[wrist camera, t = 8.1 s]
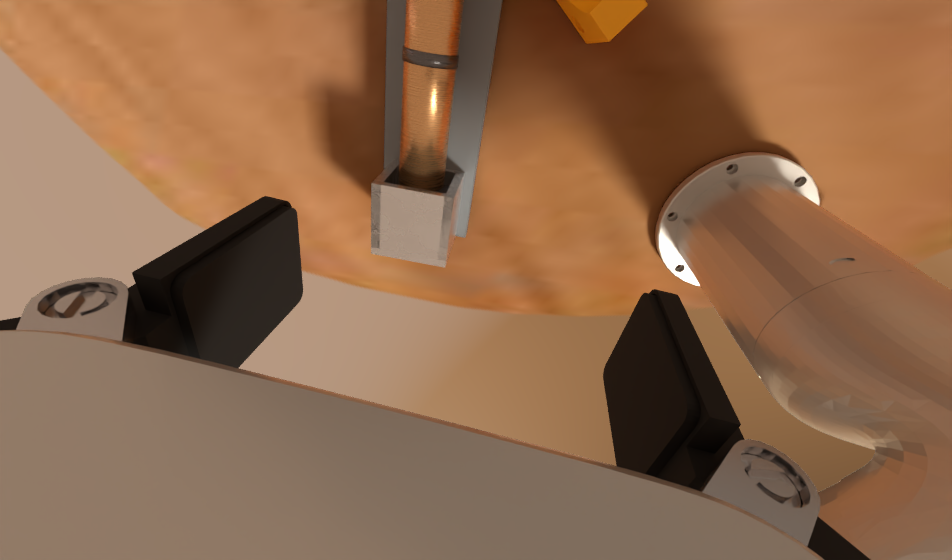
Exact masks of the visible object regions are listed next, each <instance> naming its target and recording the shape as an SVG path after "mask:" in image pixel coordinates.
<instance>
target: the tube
mask: <svg viewBox="0 0 952 560" xmlns="http://www.w3.org/2000/svg"><path fill="white" fill-rule="evenodd" d="M463 4H464V0H406V17H405V41H404V45H403V52H402V60H403V61H404V65H403V88H402V112H401V136H400V160H399V184H400V185H402V186H407V187H412V188H418V189H423V190H429V191H434V192H436V191H439V190H441V189H442V188H443V186H444V178H445V168H446V159H447V150H448V141H449V132H450V123H451V114H452V104H453V95H454V86H455V77H456V69H458V63H459V54H458V50H459V41H460V31H461V22H462V13H463Z"/></svg>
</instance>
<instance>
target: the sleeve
mask: <svg viewBox="0 0 952 560" xmlns="http://www.w3.org/2000/svg"><path fill="white" fill-rule="evenodd" d="M464 175H465V172H461V171H455V170H450V169H445V178H444V186H443V188H442V189H441V190H439V191H436V192H434V191H429V190H423V189H418V188H412V187H407V186H402V185H400V184H399V160H396V159H394V160H393V161H392V162H391V163H390V164H389V165H388V166H387V167H386V168H385V169H384V170H383V171H382V172H381V174H380V175H379V176H378V177H377V178H376V179H375V180H374V181H373V182H372V183H371V254H376V255H382V256H387V257H392V258H397V259H403V260H408V261H413V262H419V263H424V264H429V265H435V266H440V267H446V264H447V261H448V258H449V255H450V252H451V249H452V246H453V243H454V240H455V237H456V232H457V225H458V218H459V211H460V203H461V196H462V189H463V182H464Z"/></svg>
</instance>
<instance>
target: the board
mask: <svg viewBox="0 0 952 560" xmlns="http://www.w3.org/2000/svg"><path fill="white" fill-rule="evenodd" d="M502 3H503V0H464V4H463V13H462V22H461V31H460V41H459V50H458V54H459V63H458V69H456V77H455V86H454V95H453V104H452V114H451V123H450V132H449V141H448V150H447V159H446V168H445V169H450V170H455V171H461V172H465V175H464V182H463V189H462V196H461V203H460V211H459V218H458V225H457V232H456V236H459V237H466V233H467V228H468V222H469V215H470V209H471V202H472V196H473V190H474V183H475V177H476V170H477V164H478V157H479V151H480V144H481V138H482V132H483V125H484V119H485V112H486V106H487V99H488V93H489V86H490V80H491V74H492V67H493V61H494V54H495V48H496V41H497V35H498V28H499V22H500V16H501V9H502ZM405 17H406V0H387V33H386V84H385V135H384V169H385V168H386V167H387V166H388V165H389V164H390V163H391V162H392V161H393V160H394V159H396V160H400V136H401V112H402V88H403V65H404V61H403V60H402V52H403V45H404V41H405Z"/></svg>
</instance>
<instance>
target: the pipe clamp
mask: <svg viewBox="0 0 952 560" xmlns="http://www.w3.org/2000/svg"><path fill="white" fill-rule="evenodd" d="M556 1H557V2H558V4H559V5H560V7H561V8H562V9H563V11H564V12H565V14H566V15H567V17H568V18H569V19H570V21H571V22H572V24H573V25H574V27H575V28H576V29H577V31H578V32H579V34H580V35H581V37H582V38H583V39H584V41H585V42H586V44H590V43H601V42H609V41H610V40H611V39H612V38H614V37H615V36H616V35H617V34H618V33H619V32H620V31H621V30H622V29H623V28H624V27H625V26H626V25H627V24H628V23H629V22H630V21H632V20H633V19H634V18H635V17H636V16H637V15H638V14H639V13H640V12H641V11H642V10H643V9H644V8H645V7H646V6H647V5H648V4H647V2H646V1H645V0H556Z"/></svg>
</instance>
